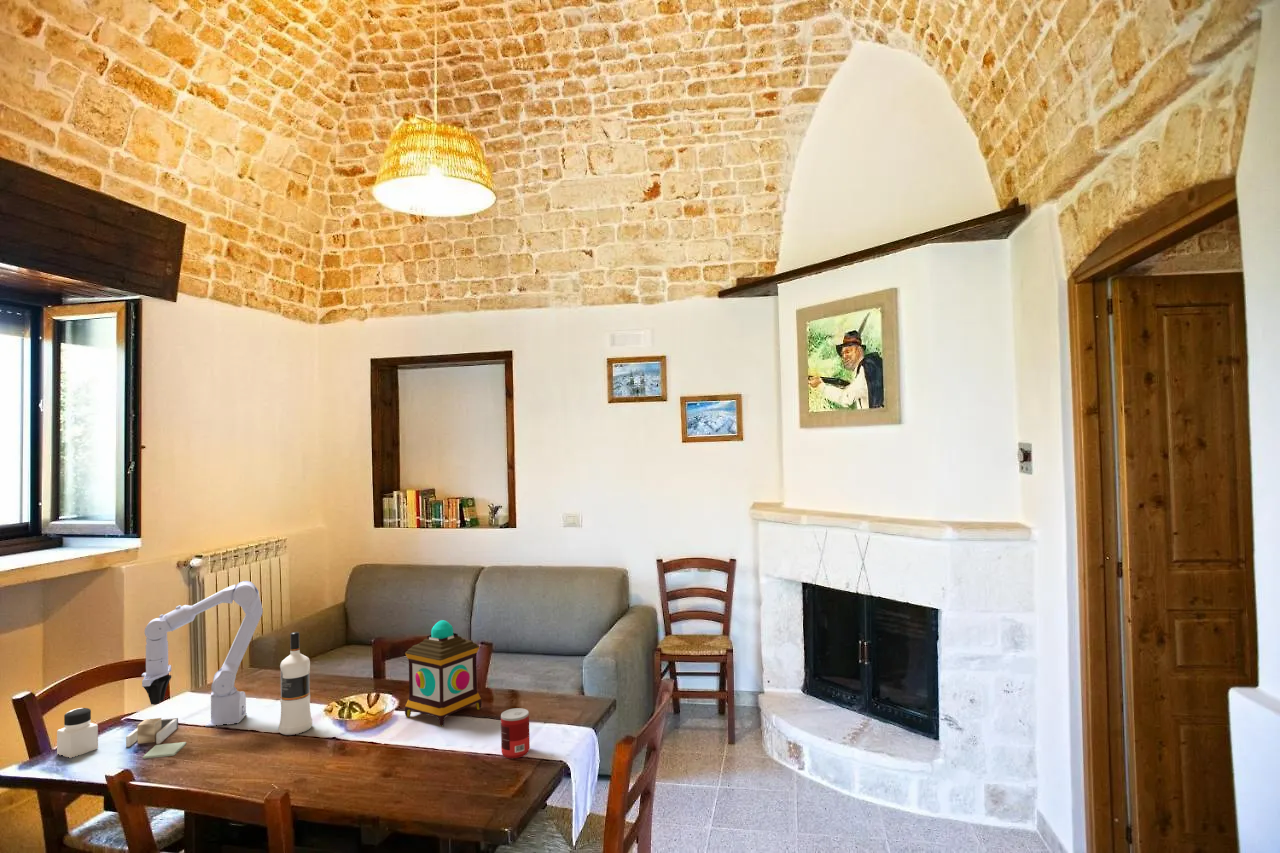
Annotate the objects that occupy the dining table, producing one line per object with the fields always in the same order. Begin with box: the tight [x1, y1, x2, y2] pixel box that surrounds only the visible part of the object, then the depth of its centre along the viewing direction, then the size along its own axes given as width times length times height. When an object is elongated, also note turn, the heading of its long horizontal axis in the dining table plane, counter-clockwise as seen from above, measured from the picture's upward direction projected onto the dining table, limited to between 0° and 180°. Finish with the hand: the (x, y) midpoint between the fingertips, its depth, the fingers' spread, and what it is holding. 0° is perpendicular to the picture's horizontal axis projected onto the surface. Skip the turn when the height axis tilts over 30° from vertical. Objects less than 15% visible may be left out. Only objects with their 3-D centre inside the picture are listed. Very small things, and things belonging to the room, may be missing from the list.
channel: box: [125, 717, 179, 748], centre depth 213 cm, size 9×12×3 cm
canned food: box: [500, 707, 531, 759], centre depth 196 cm, size 8×8×11 cm
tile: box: [142, 741, 187, 760], centre depth 202 cm, size 8×8×1 cm
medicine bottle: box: [56, 707, 99, 759], centre depth 204 cm, size 7×7×12 cm
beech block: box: [137, 717, 162, 744], centre depth 211 cm, size 4×4×6 cm
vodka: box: [278, 631, 313, 736], centre depth 216 cm, size 9×9×30 cm
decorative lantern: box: [404, 619, 482, 727], centre depth 227 cm, size 20×20×30 cm
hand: (157, 702), depth 216 cm, fingers open, 2 cm apart
